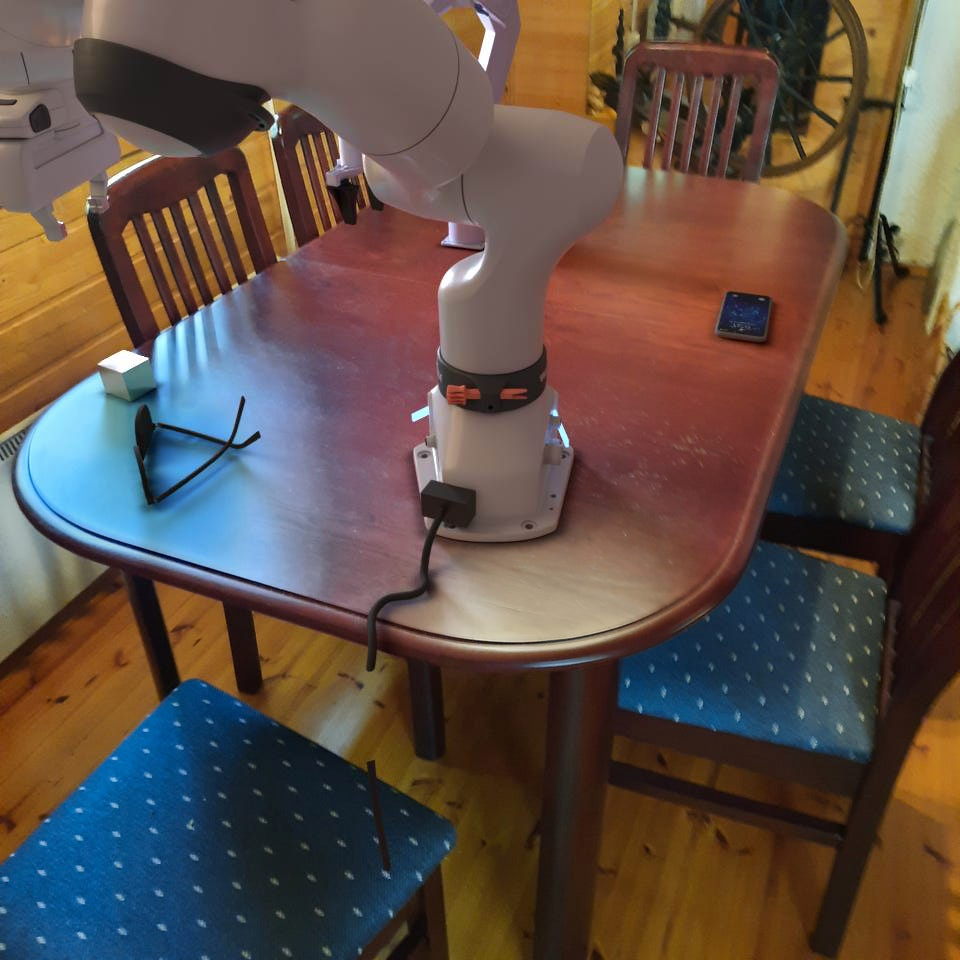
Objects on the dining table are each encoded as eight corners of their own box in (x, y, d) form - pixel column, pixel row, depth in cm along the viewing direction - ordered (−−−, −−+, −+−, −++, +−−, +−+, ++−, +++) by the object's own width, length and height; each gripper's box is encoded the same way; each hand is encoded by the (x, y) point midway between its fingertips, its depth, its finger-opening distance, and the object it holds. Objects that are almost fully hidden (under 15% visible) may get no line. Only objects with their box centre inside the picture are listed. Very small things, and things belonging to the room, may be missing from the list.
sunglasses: (270, 486, 97) (262, 449, 94) (137, 510, 94) (125, 474, 91) (257, 411, 110) (250, 377, 107) (140, 430, 107) (130, 396, 104)
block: (131, 377, 118) (123, 349, 115) (157, 386, 116) (148, 358, 113) (105, 392, 115) (96, 364, 112) (130, 401, 113) (122, 373, 110)
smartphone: (773, 295, 132) (766, 339, 121) (772, 301, 133) (765, 345, 121) (725, 289, 134) (713, 331, 123) (724, 295, 135) (712, 337, 123)
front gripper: (67, 79, 102) (101, 195, 110) (-44, 124, 86) (5, 256, 94) (116, 79, 101) (146, 196, 109) (13, 125, 85) (57, 258, 93)
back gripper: (363, 120, 145) (371, 200, 153) (307, 141, 135) (318, 226, 143) (397, 125, 142) (403, 206, 150) (342, 147, 132) (352, 233, 140)
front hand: (80, 224), depth 102 cm, fingers open, 8 cm apart
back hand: (364, 216), depth 146 cm, fingers open, 7 cm apart
